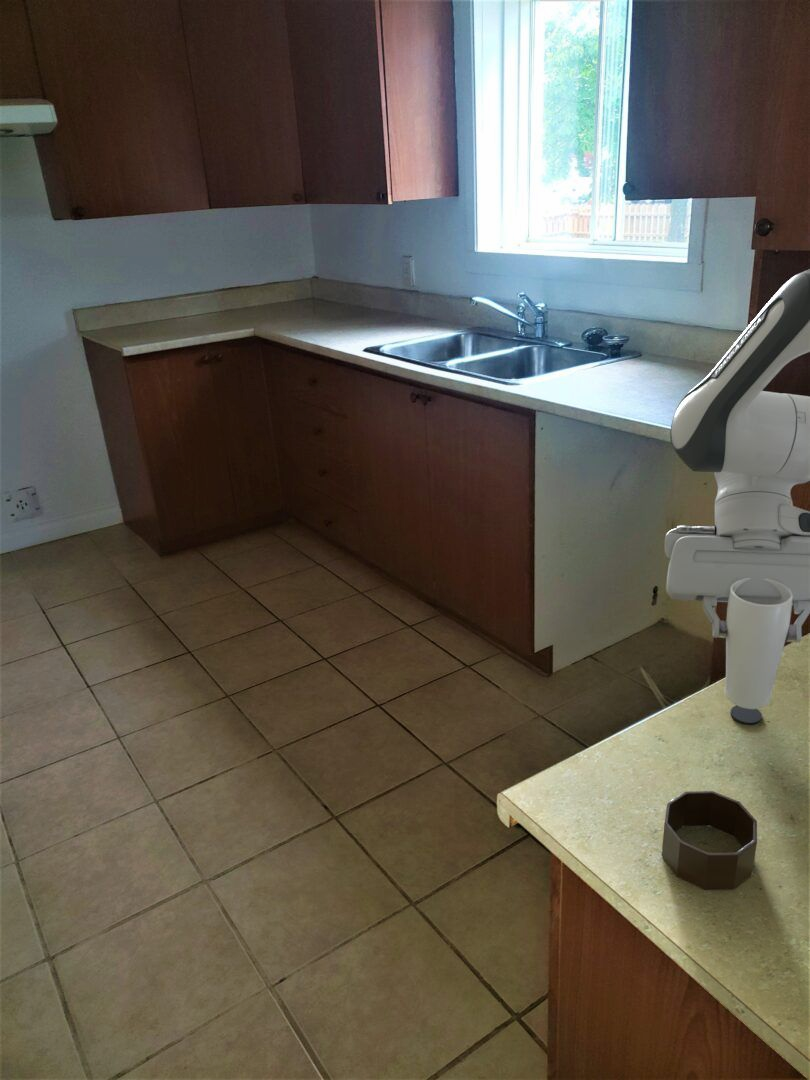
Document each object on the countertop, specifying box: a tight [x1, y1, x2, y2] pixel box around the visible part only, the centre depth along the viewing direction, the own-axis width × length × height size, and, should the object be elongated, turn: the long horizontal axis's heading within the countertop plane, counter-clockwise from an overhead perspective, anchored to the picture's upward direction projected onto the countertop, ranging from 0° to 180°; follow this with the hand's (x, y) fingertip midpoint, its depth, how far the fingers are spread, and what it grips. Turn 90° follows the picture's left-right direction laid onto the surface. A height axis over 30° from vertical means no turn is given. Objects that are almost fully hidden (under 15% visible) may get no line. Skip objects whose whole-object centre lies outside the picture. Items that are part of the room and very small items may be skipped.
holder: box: [661, 790, 758, 891], centre depth 81 cm, size 8×9×4 cm
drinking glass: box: [723, 578, 793, 710], centre depth 96 cm, size 7×7×15 cm
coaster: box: [729, 705, 763, 726], centre depth 100 cm, size 4×4×1 cm
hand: (756, 639), depth 95 cm, fingers closed on drinking glass, 6 cm apart
